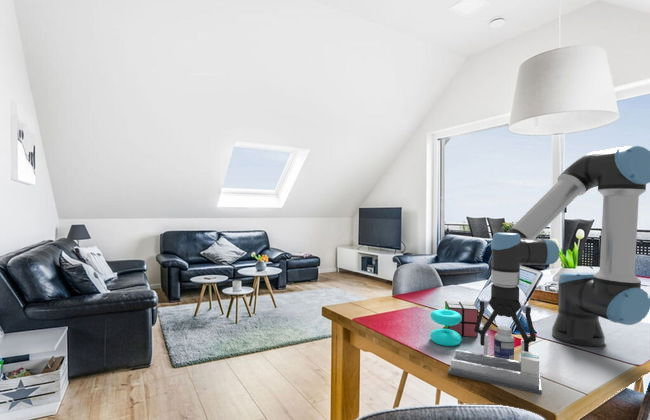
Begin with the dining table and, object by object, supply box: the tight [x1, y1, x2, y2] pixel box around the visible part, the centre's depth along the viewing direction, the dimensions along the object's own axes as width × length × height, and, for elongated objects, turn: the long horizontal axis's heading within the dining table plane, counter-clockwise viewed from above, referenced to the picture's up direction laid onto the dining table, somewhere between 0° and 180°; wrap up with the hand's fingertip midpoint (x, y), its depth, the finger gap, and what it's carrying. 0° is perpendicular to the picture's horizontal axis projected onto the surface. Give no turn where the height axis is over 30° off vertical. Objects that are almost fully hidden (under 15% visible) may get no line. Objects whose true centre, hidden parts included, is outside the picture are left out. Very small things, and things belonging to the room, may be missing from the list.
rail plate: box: [447, 349, 543, 395], centre depth 100 cm, size 22×11×4 cm, turn 62°
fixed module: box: [520, 350, 540, 376], centre depth 96 cm, size 4×6×6 cm
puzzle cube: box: [444, 300, 479, 338], centre depth 134 cm, size 10×10×10 cm
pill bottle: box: [493, 325, 515, 360], centre depth 110 cm, size 5×5×10 cm
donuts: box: [429, 308, 462, 347], centre depth 124 cm, size 10×10×10 cm
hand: (503, 359), depth 110 cm, fingers open, 9 cm apart
